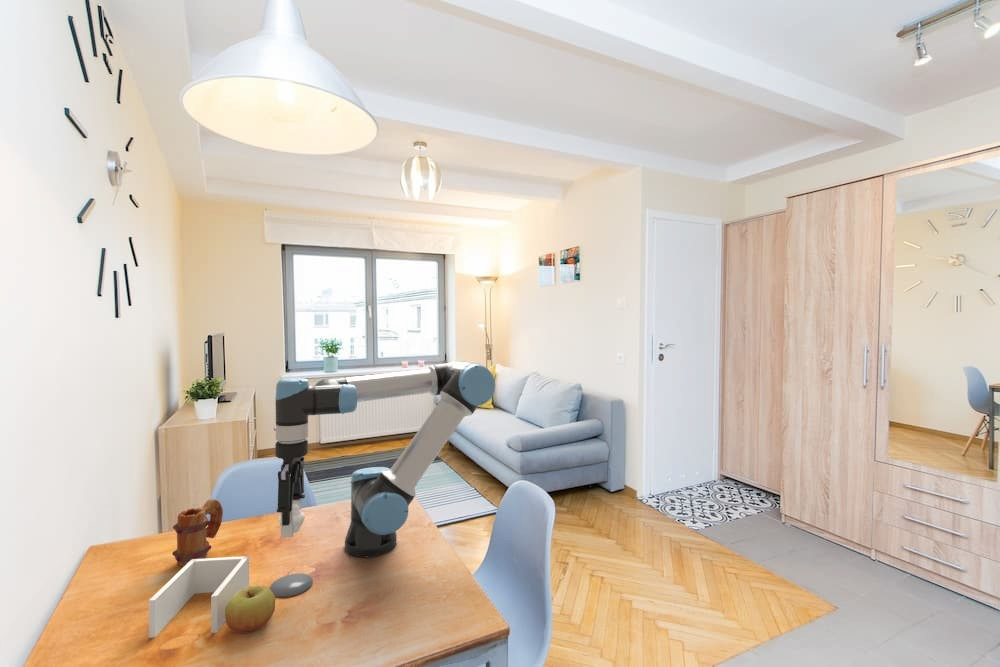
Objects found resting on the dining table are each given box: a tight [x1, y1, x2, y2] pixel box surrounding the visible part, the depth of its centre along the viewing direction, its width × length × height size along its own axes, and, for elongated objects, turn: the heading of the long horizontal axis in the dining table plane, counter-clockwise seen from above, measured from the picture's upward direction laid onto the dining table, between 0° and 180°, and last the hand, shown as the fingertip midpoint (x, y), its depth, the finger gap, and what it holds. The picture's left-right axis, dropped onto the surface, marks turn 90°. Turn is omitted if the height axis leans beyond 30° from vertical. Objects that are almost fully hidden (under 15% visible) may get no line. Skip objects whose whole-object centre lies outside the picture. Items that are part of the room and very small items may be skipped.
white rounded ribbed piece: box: [278, 504, 306, 535], centre depth 116 cm, size 6×6×7 cm
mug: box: [172, 498, 224, 567], centre depth 130 cm, size 15×8×15 cm, turn 168°
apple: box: [225, 584, 276, 634], centre depth 101 cm, size 10×10×8 cm
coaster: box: [268, 572, 313, 599], centre depth 117 cm, size 10×10×1 cm
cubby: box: [148, 555, 250, 639], centre depth 106 cm, size 13×17×8 cm
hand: (291, 530), depth 116 cm, fingers closed on white rounded ribbed piece, 6 cm apart
